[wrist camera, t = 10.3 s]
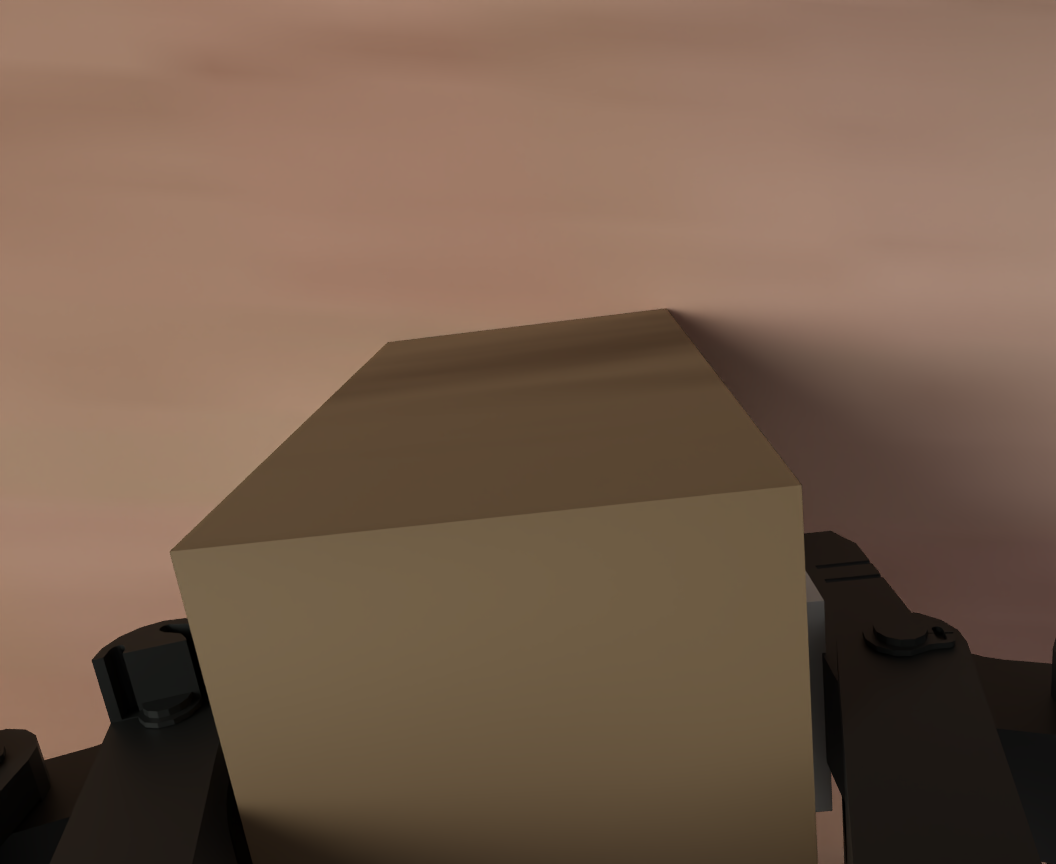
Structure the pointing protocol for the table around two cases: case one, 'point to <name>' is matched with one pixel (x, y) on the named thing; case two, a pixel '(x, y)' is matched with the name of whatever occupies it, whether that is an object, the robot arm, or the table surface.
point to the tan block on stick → (514, 613)
